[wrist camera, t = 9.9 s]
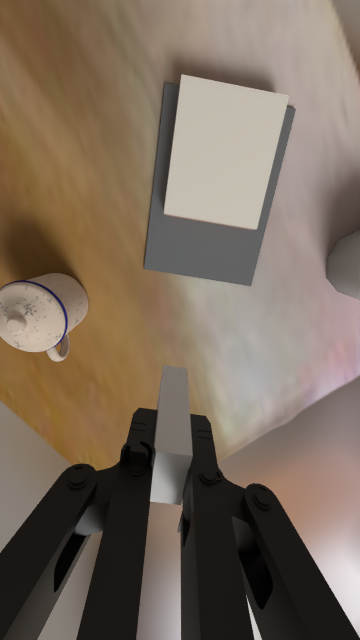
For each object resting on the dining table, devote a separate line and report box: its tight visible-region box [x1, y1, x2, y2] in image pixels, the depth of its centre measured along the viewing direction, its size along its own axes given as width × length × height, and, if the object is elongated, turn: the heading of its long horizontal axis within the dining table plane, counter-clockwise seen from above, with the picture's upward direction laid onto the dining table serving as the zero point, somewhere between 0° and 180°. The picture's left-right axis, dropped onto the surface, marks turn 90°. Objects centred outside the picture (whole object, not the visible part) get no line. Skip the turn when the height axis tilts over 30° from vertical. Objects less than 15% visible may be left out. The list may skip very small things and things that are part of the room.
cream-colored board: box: [164, 74, 289, 230], centre depth 31 cm, size 3×12×14 cm
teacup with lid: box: [0, 273, 88, 361], centre depth 34 cm, size 12×9×12 cm
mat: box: [144, 83, 296, 286], centre depth 34 cm, size 22×16×1 cm
